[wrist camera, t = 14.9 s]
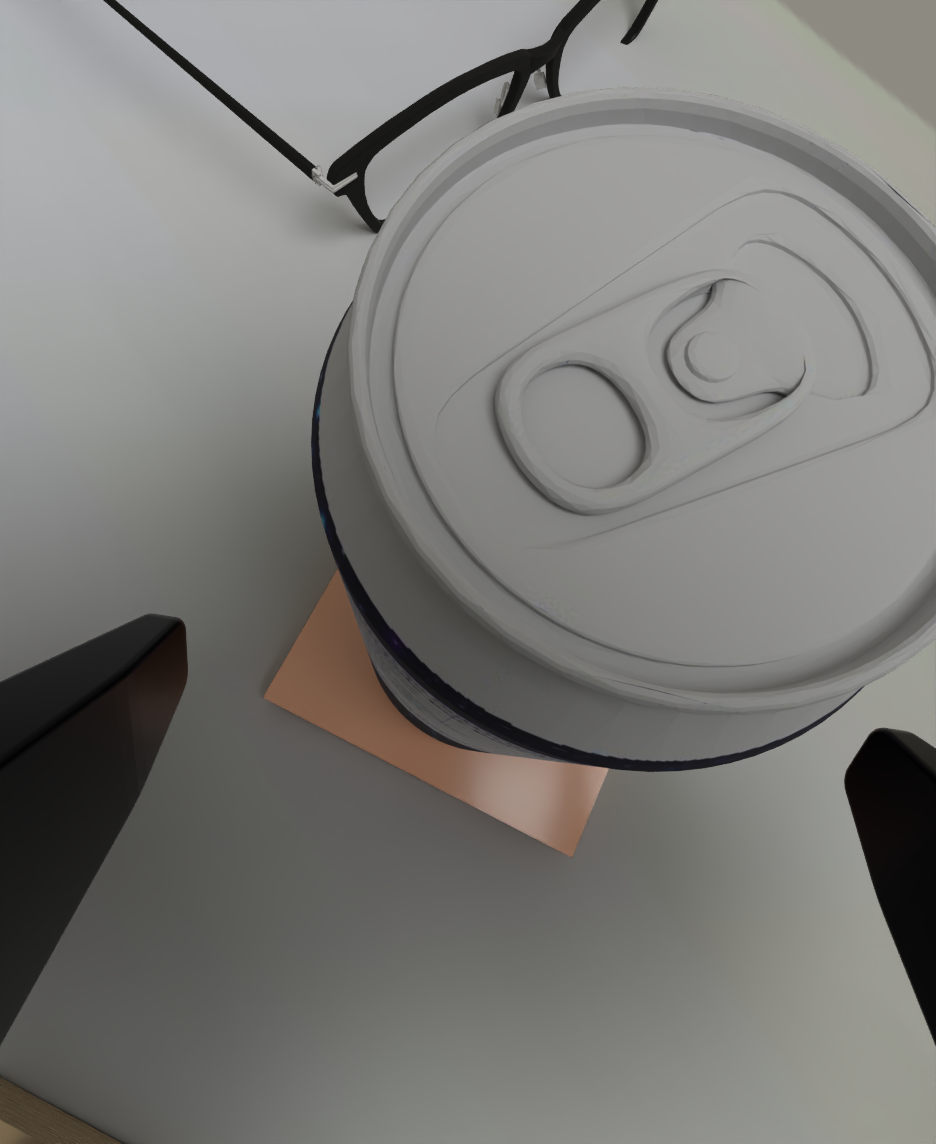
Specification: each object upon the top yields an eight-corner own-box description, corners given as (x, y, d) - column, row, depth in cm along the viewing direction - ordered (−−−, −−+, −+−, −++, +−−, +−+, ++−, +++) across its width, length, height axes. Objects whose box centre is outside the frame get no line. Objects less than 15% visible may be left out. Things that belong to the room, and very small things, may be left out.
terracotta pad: (565, 853, 16) (572, 857, 15) (267, 699, 16) (263, 697, 15) (685, 565, 18) (695, 559, 17) (421, 432, 18) (422, 422, 17)
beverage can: (641, 675, 16) (1229, 515, 5) (442, 799, 15) (579, 983, 4) (523, 485, 17) (774, -34, 6) (326, 587, 16) (140, 191, 5)
